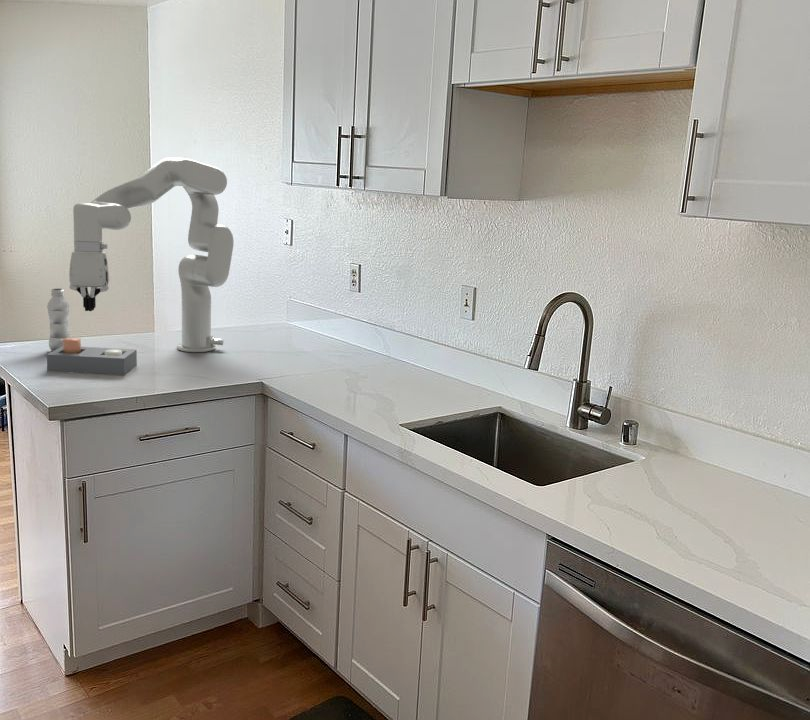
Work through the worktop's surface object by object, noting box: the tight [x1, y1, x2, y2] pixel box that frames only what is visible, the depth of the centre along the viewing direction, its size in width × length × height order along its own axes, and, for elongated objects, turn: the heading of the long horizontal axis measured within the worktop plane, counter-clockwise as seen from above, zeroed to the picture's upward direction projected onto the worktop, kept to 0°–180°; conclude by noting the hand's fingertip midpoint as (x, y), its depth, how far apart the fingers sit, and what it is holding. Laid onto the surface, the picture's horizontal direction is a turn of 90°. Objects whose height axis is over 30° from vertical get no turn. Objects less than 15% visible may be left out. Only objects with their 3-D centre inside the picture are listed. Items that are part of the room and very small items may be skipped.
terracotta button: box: [63, 337, 82, 354], centre depth 233 cm, size 5×5×5 cm
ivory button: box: [105, 350, 122, 356], centre depth 234 cm, size 5×5×5 cm
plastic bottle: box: [46, 288, 71, 352], centre depth 250 cm, size 6×7×20 cm
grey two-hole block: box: [46, 346, 138, 376], centre depth 234 cm, size 22×12×5 cm, turn 92°
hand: (89, 310), depth 230 cm, fingers closed
